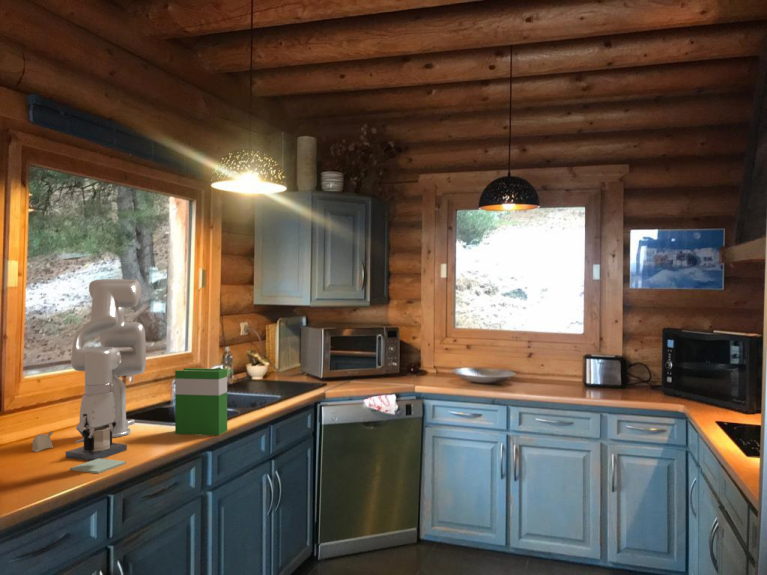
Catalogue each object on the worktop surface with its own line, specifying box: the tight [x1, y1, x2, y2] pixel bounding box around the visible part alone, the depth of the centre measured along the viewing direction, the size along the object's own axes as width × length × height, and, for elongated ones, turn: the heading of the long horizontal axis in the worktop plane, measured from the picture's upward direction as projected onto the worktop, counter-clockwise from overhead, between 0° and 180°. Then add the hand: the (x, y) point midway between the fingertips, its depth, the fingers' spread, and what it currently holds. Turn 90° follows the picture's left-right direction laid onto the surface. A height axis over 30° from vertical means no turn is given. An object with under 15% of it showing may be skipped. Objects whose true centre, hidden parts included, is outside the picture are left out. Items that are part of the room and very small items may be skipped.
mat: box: [69, 458, 127, 474], centre depth 184 cm, size 11×11×1 cm
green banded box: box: [174, 367, 228, 436], centre depth 229 cm, size 18×7×24 cm, turn 81°
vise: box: [65, 438, 128, 462], centre depth 199 cm, size 14×13×12 cm
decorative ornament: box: [31, 430, 54, 453], centre depth 206 cm, size 4×8×5 cm, turn 156°
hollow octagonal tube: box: [88, 427, 110, 451], centre depth 184 cm, size 6×6×6 cm
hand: (98, 447), depth 184 cm, fingers closed on hollow octagonal tube, 6 cm apart
